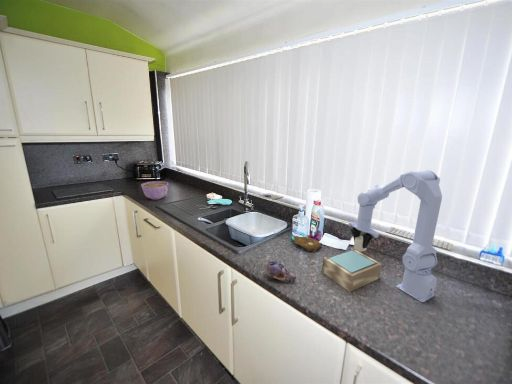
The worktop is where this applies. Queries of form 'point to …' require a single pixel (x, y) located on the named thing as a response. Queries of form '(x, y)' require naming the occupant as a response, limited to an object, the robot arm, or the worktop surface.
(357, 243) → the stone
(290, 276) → the purple lumpy piece
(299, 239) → the decorative rock
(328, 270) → the trapdoor frame
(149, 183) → the bowl of food
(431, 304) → the worktop surface
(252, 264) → the worktop surface
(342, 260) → the trapdoor
